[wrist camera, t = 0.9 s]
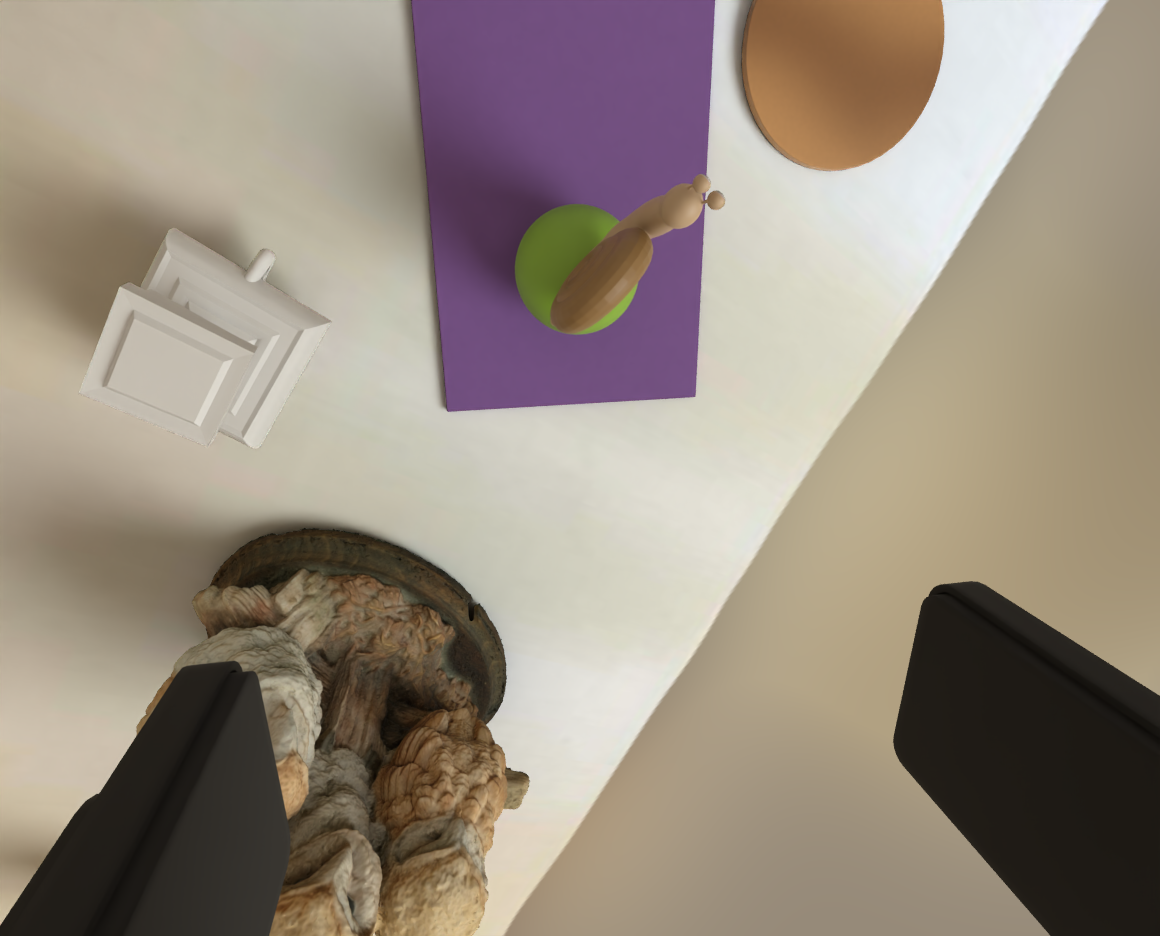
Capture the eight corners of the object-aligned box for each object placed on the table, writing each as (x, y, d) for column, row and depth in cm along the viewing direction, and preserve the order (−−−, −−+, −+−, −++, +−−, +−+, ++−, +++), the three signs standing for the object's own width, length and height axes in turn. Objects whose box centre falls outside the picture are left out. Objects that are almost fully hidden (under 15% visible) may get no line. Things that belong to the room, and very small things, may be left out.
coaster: (750, -87, 27) (755, -93, 26) (954, -70, 28) (963, -75, 28) (733, 170, 30) (738, 169, 30) (918, 171, 32) (924, 170, 31)
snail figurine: (657, 248, 30) (776, 249, 19) (571, 349, 31) (637, 406, 20) (576, 163, 28) (655, 110, 17) (486, 274, 29) (506, 290, 18)
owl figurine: (565, 634, 37) (649, 923, 21) (452, 775, 39) (451, 1138, 23) (279, 475, 31) (95, 717, 15) (160, 652, 33) (-115, 1032, 17)
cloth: (404, -84, 25) (403, -88, 24) (715, -61, 27) (718, -64, 27) (447, 410, 31) (447, 411, 31) (693, 395, 34) (695, 396, 33)
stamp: (207, 203, 26) (105, 185, 19) (354, 292, 29) (317, 308, 21) (119, 382, 28) (-9, 433, 20) (264, 453, 30) (199, 524, 22)
